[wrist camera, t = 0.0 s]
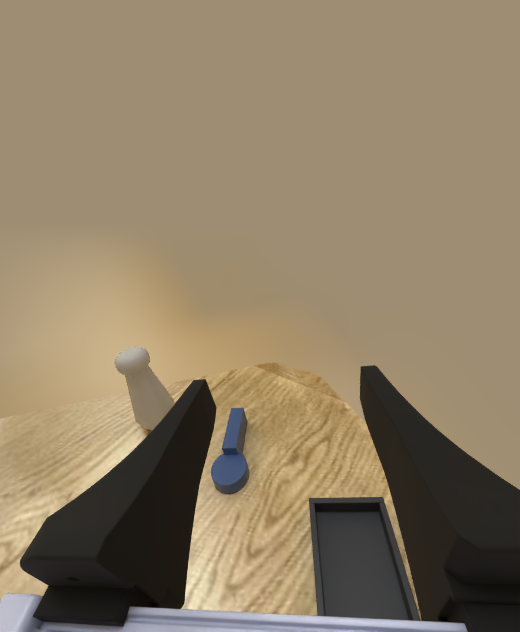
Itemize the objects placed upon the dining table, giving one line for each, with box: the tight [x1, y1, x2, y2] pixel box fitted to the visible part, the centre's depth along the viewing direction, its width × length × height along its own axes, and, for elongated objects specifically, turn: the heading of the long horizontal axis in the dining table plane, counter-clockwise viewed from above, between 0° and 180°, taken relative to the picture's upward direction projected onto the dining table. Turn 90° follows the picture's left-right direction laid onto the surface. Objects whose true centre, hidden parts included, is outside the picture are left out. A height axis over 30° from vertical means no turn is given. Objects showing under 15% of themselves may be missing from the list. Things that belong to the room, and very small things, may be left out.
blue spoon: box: [211, 408, 249, 494], centre depth 34 cm, size 10×4×3 cm, turn 175°
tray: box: [309, 497, 421, 621], centre depth 21 cm, size 13×7×2 cm, turn 175°
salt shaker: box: [115, 346, 175, 431], centre depth 39 cm, size 6×6×13 cm
